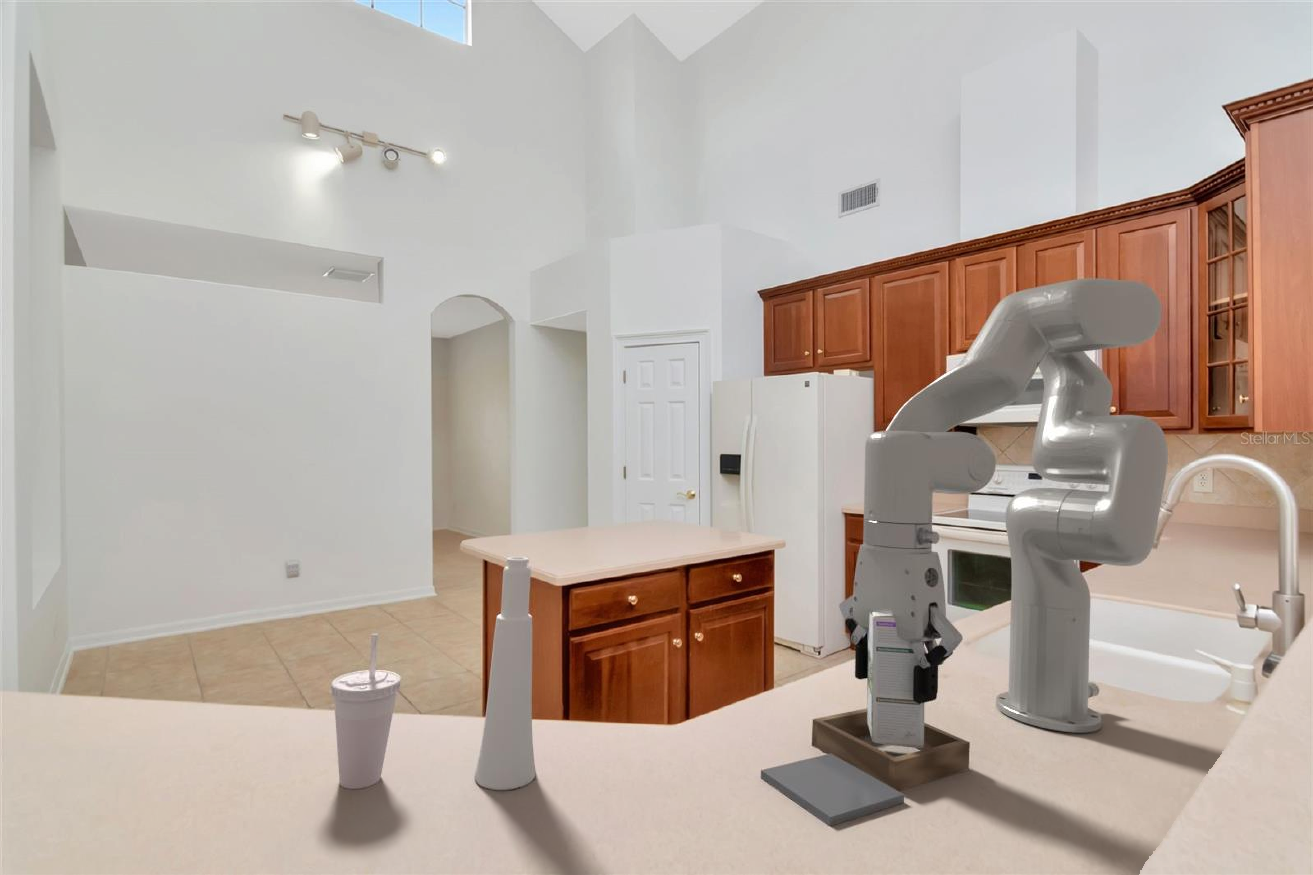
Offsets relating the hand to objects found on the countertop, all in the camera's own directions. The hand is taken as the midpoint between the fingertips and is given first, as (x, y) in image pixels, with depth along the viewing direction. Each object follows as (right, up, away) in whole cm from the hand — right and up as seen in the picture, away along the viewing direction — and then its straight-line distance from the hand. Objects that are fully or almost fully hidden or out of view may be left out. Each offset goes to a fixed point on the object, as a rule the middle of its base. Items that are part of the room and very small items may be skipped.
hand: (894, 687), depth 76 cm
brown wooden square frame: (-1, -8, -1) cm, 8 cm away
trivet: (-10, -7, -9) cm, 15 cm away
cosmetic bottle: (-43, -6, -10) cm, 44 cm away
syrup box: (0, -6, 0) cm, 6 cm away
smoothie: (-57, -5, -12) cm, 58 cm away
